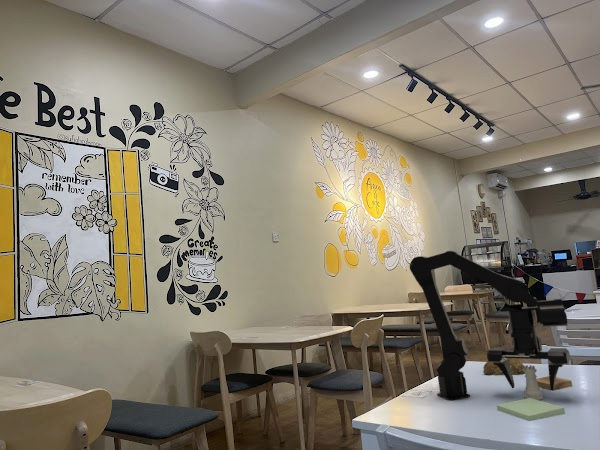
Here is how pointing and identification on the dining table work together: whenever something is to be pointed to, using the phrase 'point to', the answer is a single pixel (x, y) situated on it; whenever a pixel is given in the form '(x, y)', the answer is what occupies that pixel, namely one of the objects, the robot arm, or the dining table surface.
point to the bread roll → (495, 370)
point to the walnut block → (559, 383)
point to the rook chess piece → (532, 384)
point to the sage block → (530, 409)
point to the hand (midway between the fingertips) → (532, 389)
